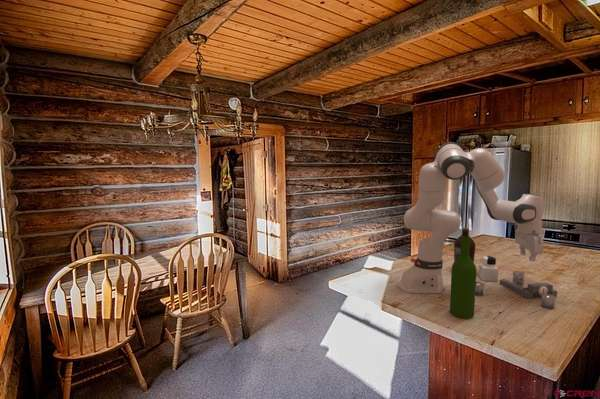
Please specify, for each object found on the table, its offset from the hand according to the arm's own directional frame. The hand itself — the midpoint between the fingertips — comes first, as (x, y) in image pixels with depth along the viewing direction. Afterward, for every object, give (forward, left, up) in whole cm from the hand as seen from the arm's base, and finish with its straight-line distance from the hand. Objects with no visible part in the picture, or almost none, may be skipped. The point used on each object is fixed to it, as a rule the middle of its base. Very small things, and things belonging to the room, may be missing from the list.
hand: (527, 257), depth 148 cm
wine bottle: (-42, -14, -17) cm, 48 cm away
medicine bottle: (-4, +19, -18) cm, 26 cm away
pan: (+4, +4, -15) cm, 16 cm away
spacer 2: (0, +4, -14) cm, 15 cm away
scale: (+4, +3, -17) cm, 18 cm away
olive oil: (-10, +31, -17) cm, 37 cm away
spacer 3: (-2, -14, -17) cm, 22 cm away
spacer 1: (-22, +3, -17) cm, 28 cm away
